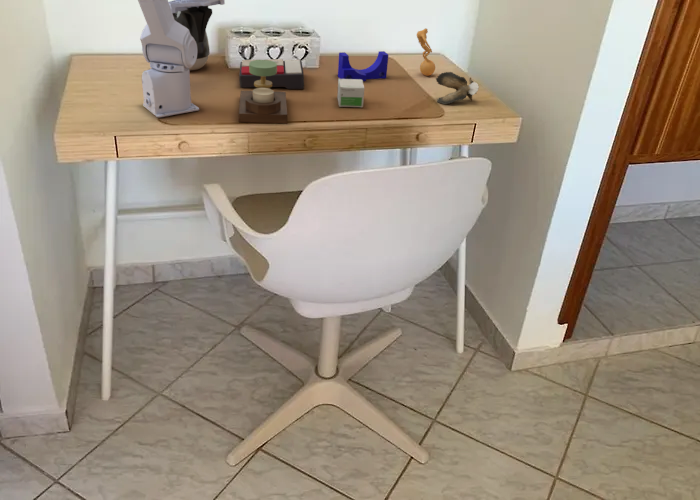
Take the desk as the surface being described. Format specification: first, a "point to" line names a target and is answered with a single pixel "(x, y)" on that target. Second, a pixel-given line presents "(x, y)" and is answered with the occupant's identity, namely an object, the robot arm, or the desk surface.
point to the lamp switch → (263, 95)
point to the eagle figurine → (456, 87)
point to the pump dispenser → (201, 47)
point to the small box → (350, 93)
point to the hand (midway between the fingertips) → (198, 41)
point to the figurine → (427, 65)
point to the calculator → (285, 77)
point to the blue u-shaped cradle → (372, 72)
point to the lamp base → (262, 109)
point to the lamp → (263, 72)
